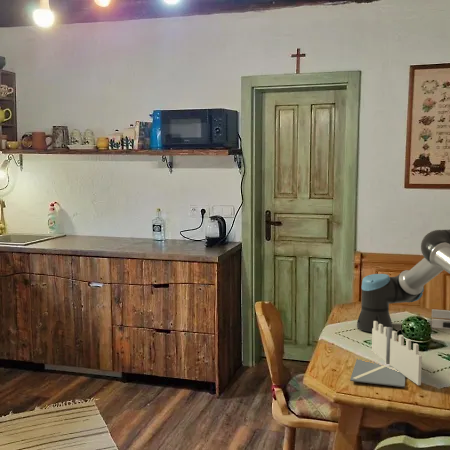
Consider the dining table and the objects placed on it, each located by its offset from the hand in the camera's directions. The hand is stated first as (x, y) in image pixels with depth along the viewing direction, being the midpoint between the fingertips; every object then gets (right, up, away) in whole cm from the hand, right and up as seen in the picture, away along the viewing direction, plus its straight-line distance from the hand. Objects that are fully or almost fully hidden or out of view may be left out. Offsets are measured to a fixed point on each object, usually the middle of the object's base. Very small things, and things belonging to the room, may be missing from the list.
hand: (431, 318), depth 191 cm
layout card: (-13, -21, +16) cm, 29 cm away
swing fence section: (-7, -21, +7) cm, 23 cm away
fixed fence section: (-10, -20, +24) cm, 33 cm away
